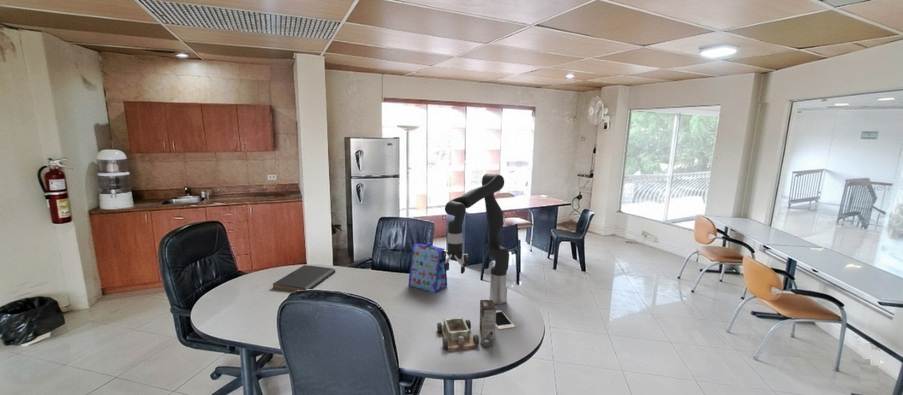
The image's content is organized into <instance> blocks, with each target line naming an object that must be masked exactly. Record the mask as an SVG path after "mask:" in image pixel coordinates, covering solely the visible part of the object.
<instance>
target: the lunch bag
mask: <svg viewBox="0 0 903 395" xmlns="http://www.w3.org/2000/svg"><path fill="white" fill-rule="evenodd" d="M412 245H413V246H412V250H411V257H410V266H409V276H408V285H409V286H411V287H414V288H418V289H420V290H424V291H427V292H430V293H433V294H437V293H438V292H439V291H441V290H442V289H445V288H447V287H448V276H447V270H446V269H445V262H442V251H443V250H445V248H442V247H438V246H435V245H432V242H427V243H426V244H423V243H414V244H412Z"/></svg>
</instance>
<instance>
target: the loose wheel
mask: <svg viewBox="0 0 903 395" xmlns="http://www.w3.org/2000/svg"><path fill="white" fill-rule="evenodd" d="M492 344H493V339H489V338H483V339H482V338H481V340H480V346H481V347H482V348H485V349H490V348H491V347H493V346H492Z"/></svg>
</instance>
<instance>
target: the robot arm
mask: <svg viewBox="0 0 903 395" xmlns="http://www.w3.org/2000/svg"><path fill="white" fill-rule="evenodd" d="M504 186H505V178H504V176H503V175H501V174H498V173H485V174H483V176H482V179H481V186H479V187H475V188H473V189H470V190H469V191H467V192H466V193H464V194H463V195H461V196H458V197H455V198H453V199H451V200H449V201H448V202H447V203H446V204H445V206H444V211H445V213H446V214H447V215H449V216H452V217H454V218H453V219H452V220H449V221H448V224H447V240H446V241H447V249H444V250H443V251H442V262H445V269H446V272H447V271H450V262H451V261H455V262H457V263H458V264H459V265H460V274H464V273H465V271H466V267H468V266H469V254H468V253H463V245H464V244H463V239H464V238H463V237H464V236H463V224H464V220H465V216H466V213H467V212H466V211H467V209H469V208H471V207H472V206H474V205H475V204H477V203H478V202H480V201H481V200H482V199H484V203H485V213H486V224H487V235H488V249H487V250H488V257H489V258H490V259H491V260H493V261H494V266H491V267H490V280H489V300H493V302H494V305H503V304H505V303H507V300H508V286H507V274H508V273H507V272H508V270H509V265H510V264H509V263H510V252H509V250H508V249H507V248H506V247H504V246H502V245H501V232H502V230H503V228H504V215H503V214H504V213H503V210H502V208H501V206H500V204H499V203H498V201H497V200H496V197H495V193H498V192H499V191H500V190H502V189H503V188H504ZM447 256H448V257H447Z"/></svg>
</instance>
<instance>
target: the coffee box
mask: <svg viewBox="0 0 903 395" xmlns="http://www.w3.org/2000/svg"><path fill="white" fill-rule="evenodd" d="M479 301H480V302H479V332H480V336H481V340H482V339H483V338H489V339H491V340H495V339H496V326H495V324H496V311H497V306H496V304H494V302H493V300H490V299H480V300H479Z"/></svg>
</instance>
